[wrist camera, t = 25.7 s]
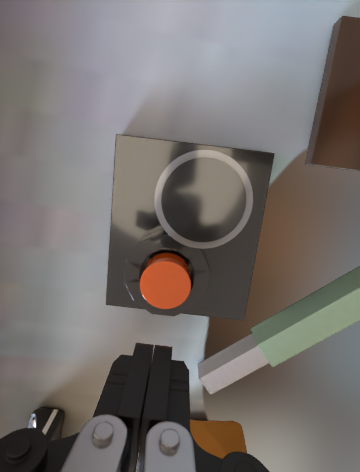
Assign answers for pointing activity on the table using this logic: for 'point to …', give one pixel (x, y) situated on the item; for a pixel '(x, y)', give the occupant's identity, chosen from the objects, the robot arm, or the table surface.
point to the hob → (159, 241)
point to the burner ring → (203, 199)
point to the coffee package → (218, 437)
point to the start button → (166, 281)
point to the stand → (339, 102)
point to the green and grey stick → (286, 332)
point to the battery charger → (47, 422)
